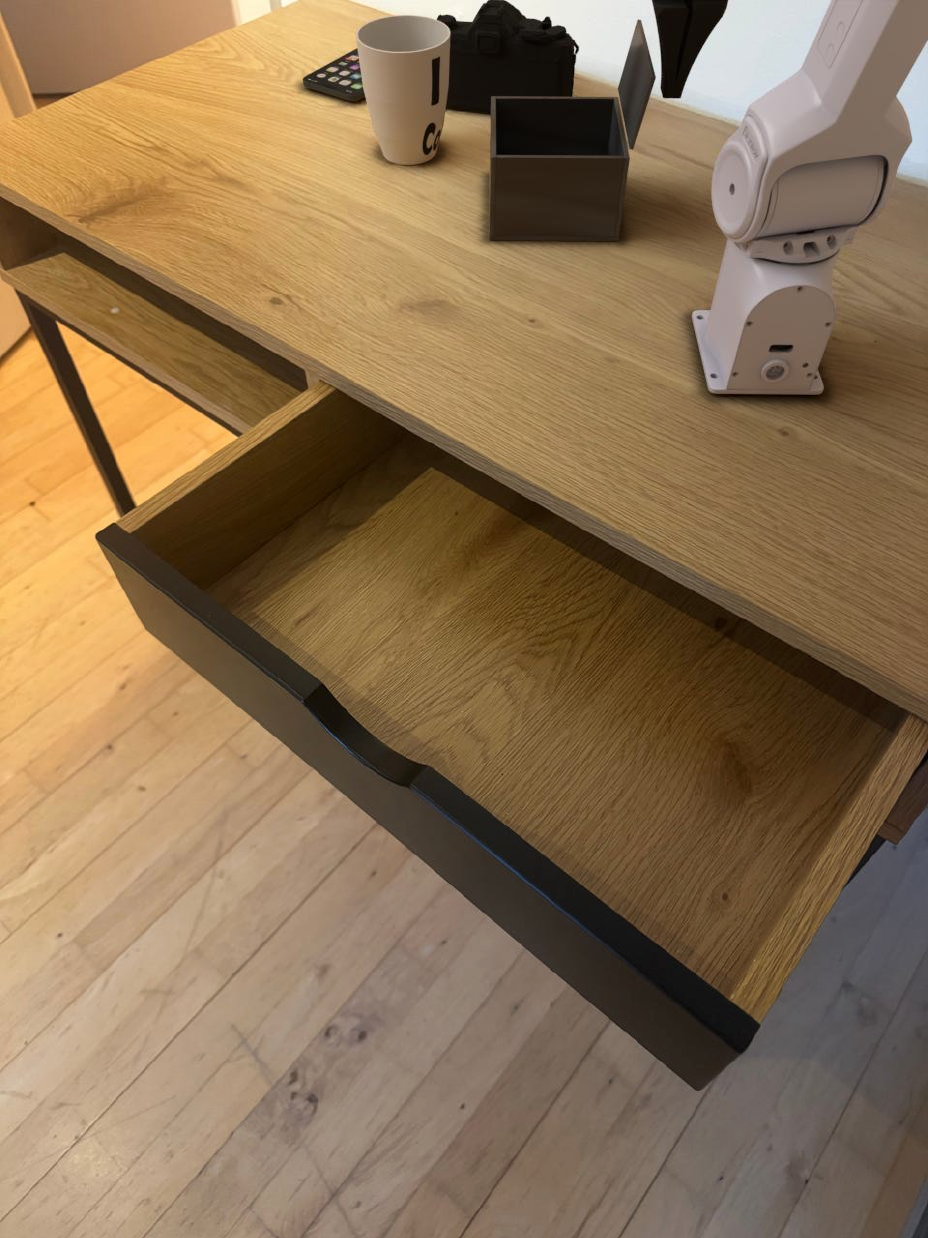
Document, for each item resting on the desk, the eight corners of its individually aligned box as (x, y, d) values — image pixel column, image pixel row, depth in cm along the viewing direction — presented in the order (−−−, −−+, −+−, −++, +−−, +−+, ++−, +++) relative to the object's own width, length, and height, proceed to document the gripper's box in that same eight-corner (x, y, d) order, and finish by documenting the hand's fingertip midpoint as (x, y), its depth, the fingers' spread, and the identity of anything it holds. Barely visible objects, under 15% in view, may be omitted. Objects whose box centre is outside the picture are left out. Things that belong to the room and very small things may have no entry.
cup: (441, 176, 82) (439, 55, 74) (356, 168, 83) (344, 48, 75) (459, 135, 87) (459, 18, 79) (378, 128, 88) (369, 11, 80)
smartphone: (439, 46, 98) (355, 96, 91) (440, 53, 99) (355, 103, 91) (385, 31, 101) (298, 79, 93) (385, 38, 101) (299, 86, 94)
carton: (489, 176, 82) (491, 95, 77) (608, 177, 82) (618, 96, 77) (489, 240, 76) (491, 156, 70) (618, 241, 76) (630, 157, 70)
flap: (637, 18, 72) (641, 19, 72) (617, 88, 76) (621, 89, 76) (652, 76, 66) (656, 77, 66) (629, 148, 70) (633, 149, 70)
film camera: (585, 84, 94) (595, -17, 87) (566, 126, 88) (575, 21, 81) (445, 68, 97) (443, -31, 89) (418, 108, 91) (414, 5, 84)
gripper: (803, -141, 63) (753, 71, 74) (594, -142, 63) (575, 70, 74) (825, -110, 59) (769, 110, 69) (601, -111, 59) (580, 109, 70)
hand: (670, 92), depth 71 cm, fingers closed
